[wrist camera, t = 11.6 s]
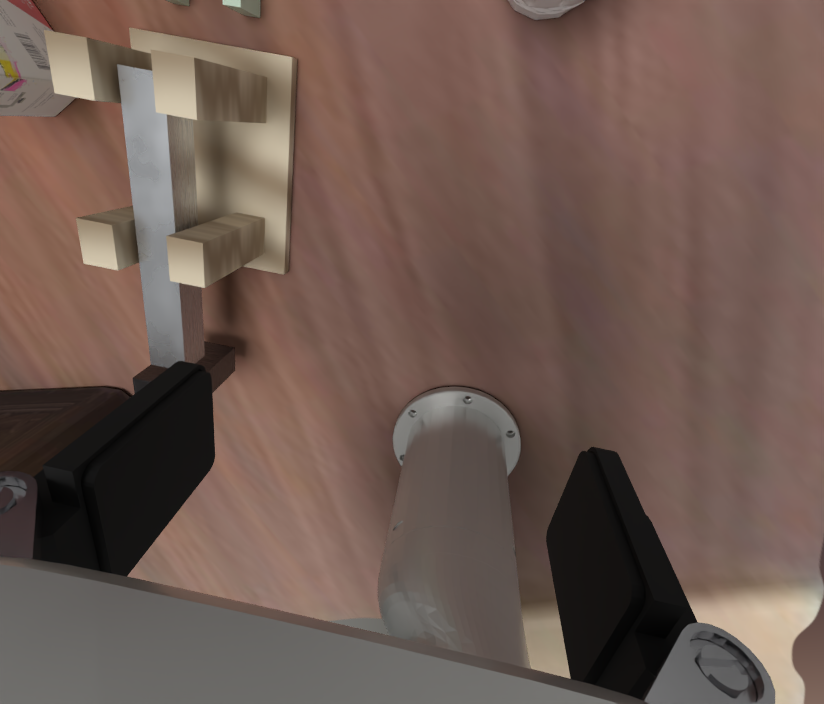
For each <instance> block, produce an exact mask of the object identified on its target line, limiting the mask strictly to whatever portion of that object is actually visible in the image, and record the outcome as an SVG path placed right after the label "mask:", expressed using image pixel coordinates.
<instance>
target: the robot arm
mask: <svg viewBox="0 0 824 704" xmlns="http://www.w3.org/2000/svg"><path fill="white" fill-rule="evenodd" d="M466 396H470V397H466ZM393 449H394V452H395V456H396V458H397V460H398V462H399V464H400V466H401V467H402V469H401V473H400V478H399V483H398V487H397V492H396V497H395V501H394V506H393V511H392V515H391V520H390V525H389V529H388V534H387V539H386V543H385V548H384V553H383V557H382V563H381V568H380V573H379V578H378V601H379V607H380V612H381V616H382V619H383V621H384V624H385V627H386V629H387V632H388V634H389V635H384V634H380V633H376V632H371V631H367V630H363V629H359V628H353V627H349V626H345V625H341V624H336V623H332V622H328V621H324V620H319V619H315V618H310V617H306V616H302V615H297V614H293V613H288V612H284V611H280V610H275V609H271V608H266V607H262V606H258V605H253V604H249V603H244V602H240V601H235V600H231V599H226V598H222V597H217V596H213V595H208V594H204V593H199V592H195V591H190V590H186V589H181V588H177V587H172V586H168V585H163V584H159V583H154V582H150V581H145V580H141V579H136V578H131V577H127V576H128V574H129V573H130V572H131V570H132V569H133V568H134V567H135V565H136V564H137V563H138V561H139V560H140V559H141V558H142V556H143V555H144V554H145V553H146V551H147V550H148V549H149V547H150V546H151V545H152V544H153V542H154V541H155V540H156V538H157V537H158V536H159V535H160V533H161V532H162V531H163V529H164V528H165V527H166V526H167V524H168V523H169V522H170V521H171V519H172V518H173V517H174V515H175V514H176V513H177V512H178V510H179V509H180V508H181V506H182V505H183V504H184V503H185V501H186V500H187V499H188V497H189V496H190V495H191V494H192V492H193V491H194V490H195V489H196V487H197V486H198V485H199V483H200V482H201V481H202V480H203V478H204V477H205V476H206V474H207V473H208V472H209V471H210V469H211V467H212V465H213V463H214V459H215V444H214V422H213V399H212V378H211V374H210V373H209V372H206V369H205V367H204V366H203V365H199V364H194V363H189V362H185V361H178V362H176V363H174V364H173V365H172V366H171V367H169V368H168V369H167V370H165V371H164V372H163V373H162V374H160V375H159V376H158V377H156V378H155V379H154V380H152V381H151V382H150V383H149V384H147V385H146V386H145V387H143V388H142V389H141V390H139V391H138V392H137V393H136V394H134V395H133V396H132V397H130V398H129V399H128V400H126V401H125V402H124V403H123V404H121V405H120V406H119V407H117V408H116V409H115V410H113V411H112V412H111V413H110V414H108V415H107V416H106V417H104V418H103V419H102V420H101V421H99V422H98V423H97V424H95V425H94V426H93V427H91V428H90V429H89V430H88V431H86V432H85V433H84V434H82V435H81V436H80V437H78V438H77V439H76V440H75V441H73V442H72V443H71V444H69V445H68V446H67V447H65V448H64V449H63V450H62V451H60V452H59V453H58V454H56V455H55V456H54V457H53V458H51V459H50V460H49V461H47V462H46V463H45V464H43V465H42V466H43V470H41V471H40V472H39V473H38V474H36V475H35V476H34V477H32V476H31V475H30V474H26V473H23V472H20V471H1V472H0V704H775V689H774V687H773V684H772V681H771V678H770V676H769V674H768V673H767V671H766V670H765V668H764V666H763V665H762V663H761V662H760V661H759V660H758V658H757V657H756V656H755V655H754V654H753V653H752V652H751V650H750V649H749V648H747V647H746V646H745V645H744V644H743V643H742V642H740V641H739V640H738V639H737V638H735V637H734V636H732V635H731V634H729V633H727V632H726V631H724V630H723V629H720V628H718V627H715V626H713V625H710V624H705V623H698V622H697V620H696V618H695V616H694V614H693V612H692V609H691V607H690V605H689V603H688V601H687V598H686V596H685V594H684V592H683V590H682V588H681V585H680V583H679V581H678V579H677V577H676V574H675V572H674V570H673V568H672V566H671V564H670V561H669V559H668V557H667V555H666V553H665V550H664V548H663V546H662V544H661V542H660V540H659V537H658V535H657V533H656V531H655V529H654V526H653V524H652V522H651V521H650V519H649V517H648V516H647V515H645V512H644V510H643V508H642V506H641V504H640V501H639V499H638V497H637V495H636V492H635V490H634V488H633V486H632V484H631V481H630V479H629V477H628V475H627V473H626V470H625V468H624V466H623V464H622V461H621V459H620V457H619V455H618V454H617V452H615V451H610V450H605V449H600V448H596V447H591V448H590V449H589V450H588V451H587V452H586V451H582V452H581V453H580V454H579V456H578V459H577V461H576V463H575V466H574V468H573V470H572V473H571V475H570V477H569V480H568V482H567V485H566V487H565V489H564V492H563V494H562V496H561V499H560V501H559V503H558V506H557V508H556V510H555V513H554V515H553V517H552V520H551V522H550V524H549V527H548V530H547V537H546V542H547V548H548V554H549V559H550V565H551V571H552V576H553V582H554V587H555V593H556V598H557V604H558V610H559V615H560V621H561V626H562V632H563V638H564V643H565V649H566V654H567V660H568V665H569V671H570V677H571V679H569V678H565V677H561V676H557V675H553V674H549V673H545V672H541V671H537V670H533V669H531V667H530V662H529V658H528V652H527V645H526V639H525V633H524V626H523V618H522V610H521V601H520V592H519V582H518V574H517V564H516V553H515V544H514V534H513V524H512V514H511V505H510V495H509V485H508V475H509V474H510V473H511V472H512V470H513V469H514V468H515V466H516V464H517V462H518V459H519V455H520V451H521V439H520V433H519V429H518V426H517V424H516V421H515V419H514V417H513V416H512V414H511V413H510V411H509V410H508V409H507V408H506V407H505V406H504V405H503V404H502V403H501V402H499V401H498V400H496V399H495V398H493V397H492V396H490V395H488V394H486V393H483V392H481V391H479V390H475V389H471V388H467V387H455V386H453V387H441V388H437V389H433V390H430V391H427V392H425V393H423V394H421V395H419V396H417V397H416V398H414V399H413V400H412V401H410V402H409V403H408V404H407V405H406V406H405V408H404V409H403V410H402V411H401V413H400V415H399V417H398V418H397V421H396V424H395V427H394V433H393Z"/></svg>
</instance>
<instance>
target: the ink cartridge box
mask: <svg viewBox="0 0 824 704" xmlns="http://www.w3.org/2000/svg"><path fill="white" fill-rule="evenodd" d="M44 30H48V31H53V30H52V29H51V27H50V26H49V24H48V23H47V21H46V20H45V18H44V17H43V16H42V14H41V13H40V11H39V10H38V9H37V7H36V6H35V4H34V3H33V1H32V0H0V116H43V117H55V116H56V115H58V114H59V113H60V112H61V111H62V110H63V109H64V108H65V107H67V106H68V105H69V104H70V103H71V102H72V101H73V100H74V99H75V98H77V97H72V96H67V95H62V94H56V93H54V87H53V81H52V75H51V69H50V63H49V57H48V52H47V46H46V40H45V34H44ZM53 32H54V31H53Z"/></svg>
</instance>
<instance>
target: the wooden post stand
mask: <svg viewBox="0 0 824 704" xmlns="http://www.w3.org/2000/svg"><path fill="white" fill-rule="evenodd" d="M129 31H130V41H131V49H130V48H126V47H122V46H118V45H114V44H110V43H106V42H102V41H98V40H94V39H90V38H86V37H80V36H75V35H70V34H64V33H59V32H53V31H48V30H44V34H45V40H46V46H47V52H48V57H49V63H50V69H51V75H52V81H53V87H54V93H56V94H62V95H67V96H72V97H77V98H83V99H88V100H93V101H103V102H115V103H121V95H120V87H119V78H118V69H117V64H118V65H124V66H129V67H134V68H140V69H145V70H151V71H153V83H154V95H155V107H156V112H157V113H162V114H167V115H173V116H178V117H183V118H189V119H193V131H194V151H195V171H196V191H197V211H198V225H197V226H194V227H192V228H189V229H186V230H183V231H180V232H177V233H174V234H171V235H168V236H166V240H167V252H168V264H169V276H170V281H173V282H178V283H182V284H187V285H192V286H197V287H202V288H206V287H207V286H209V285H211V284H213V283H214V282H216V281H218V280H220V279H221V278H223V277H225V276H227V275H228V274H230V273H232V272H233V271H235V270H237V269H239V268H240V267H242V266H244V267H249V268H254V269H259V270H264V271H269V272H274V273H279V274H286V273H287V272H288V271H289V248H290V224H291V200H292V175H293V151H294V127H295V103H296V79H297V59H295V58H293V57H288V56H283V55H277V54H272V53H266V52H261V51H255V50H250V49H244V48H239V47H233V46H228V45H222V44H217V43H211V42H206V41H201V40H195V39H190V38H184V37H179V36H173V35H168V34H162V33H157V32H151V31H146V30H140V29H135V28H129ZM76 221H77V227H78V233H79V239H80V245H81V251H82V256H83V262H84V264H89V265H94V266H99V267H104V268H109V269H113V270H120V269H123V268H126V267H128V266H131V265H133V264H136V263H139V255H138V246H137V237H136V228H135V219H134V210H133V206H130V207H125V208H120V209H116V210H111V211H106V212H102V213H97V214H92V215H88V216H83V217H78V218H76Z"/></svg>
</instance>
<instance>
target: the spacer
mask: <svg viewBox="0 0 824 704" xmlns="http://www.w3.org/2000/svg"><path fill="white" fill-rule="evenodd" d="M166 1H168V2H171V3H173V4H179V5H185V6H189V0H166ZM223 5H225V6H227V7H229V8H231V9H232V10H234V11H236V12H238V13H240V14H242V15H245V16H251V17H257V18H260V0H223Z"/></svg>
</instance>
